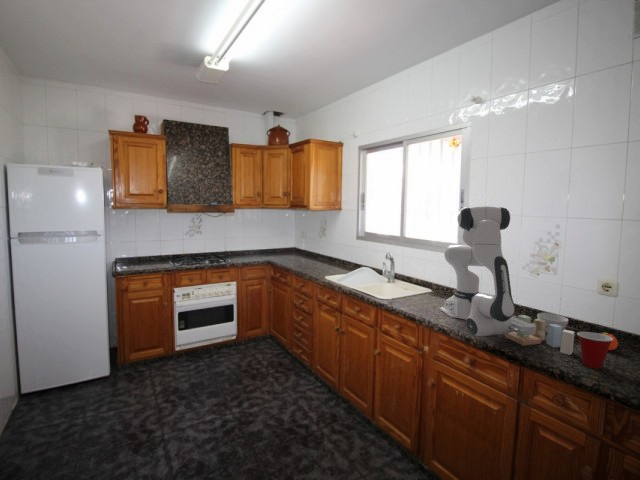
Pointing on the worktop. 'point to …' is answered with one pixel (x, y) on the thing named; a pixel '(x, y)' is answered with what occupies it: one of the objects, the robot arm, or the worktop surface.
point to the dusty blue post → (554, 335)
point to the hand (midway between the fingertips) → (525, 321)
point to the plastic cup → (594, 348)
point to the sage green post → (525, 319)
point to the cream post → (567, 342)
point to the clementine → (614, 341)
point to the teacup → (553, 320)
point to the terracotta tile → (523, 339)
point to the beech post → (540, 328)
